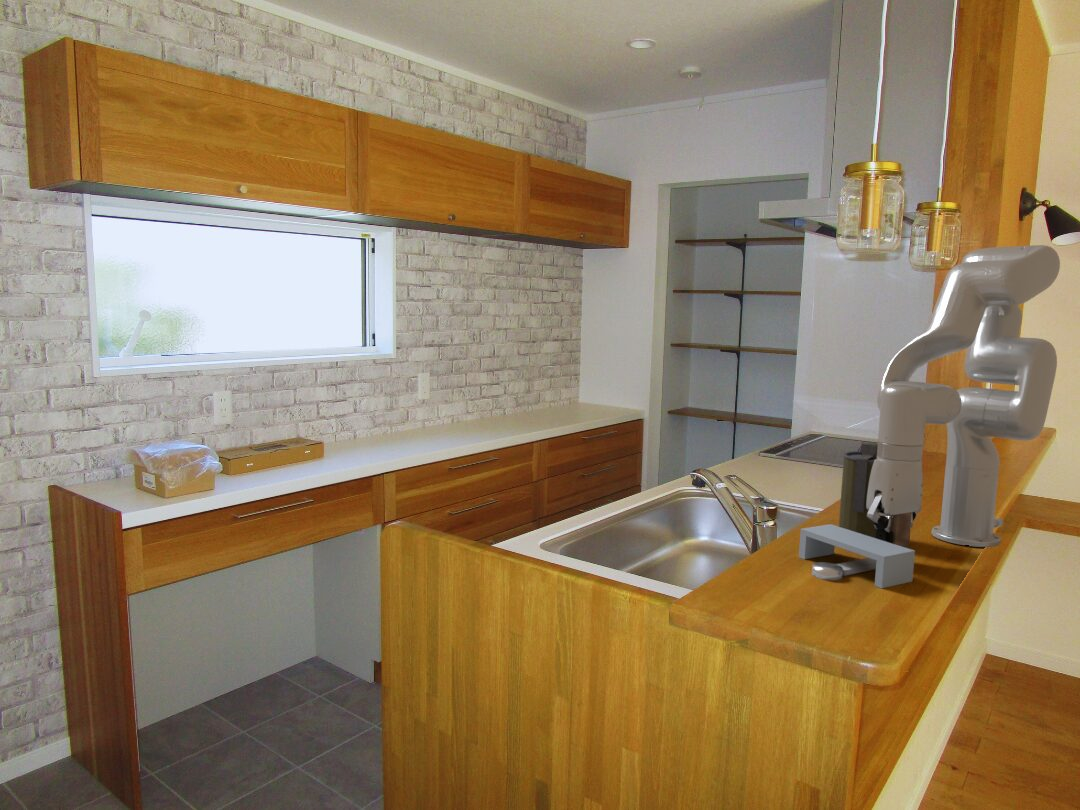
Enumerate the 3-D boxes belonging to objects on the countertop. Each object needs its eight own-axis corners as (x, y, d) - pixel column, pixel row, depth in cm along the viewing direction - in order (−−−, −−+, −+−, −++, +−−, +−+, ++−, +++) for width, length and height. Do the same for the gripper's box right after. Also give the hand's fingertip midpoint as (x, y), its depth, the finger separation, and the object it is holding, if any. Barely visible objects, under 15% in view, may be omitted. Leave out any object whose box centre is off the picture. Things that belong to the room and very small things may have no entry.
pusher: (888, 557, 143) (892, 506, 142) (907, 563, 139) (911, 511, 138) (827, 569, 135) (831, 515, 134) (846, 576, 132) (850, 521, 130)
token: (824, 570, 136) (825, 560, 135) (848, 578, 131) (849, 568, 131) (805, 574, 133) (806, 564, 133) (829, 583, 129) (830, 573, 129)
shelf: (828, 551, 146) (830, 524, 145) (912, 581, 130) (914, 550, 129) (798, 557, 142) (800, 528, 141) (881, 588, 126) (884, 556, 126)
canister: (846, 528, 163) (853, 437, 160) (897, 538, 156) (905, 443, 154) (829, 539, 154) (836, 443, 152) (883, 550, 148) (891, 450, 145)
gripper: (910, 446, 145) (902, 538, 147) (851, 452, 137) (844, 549, 139) (947, 452, 138) (938, 549, 141) (887, 459, 131) (879, 561, 133)
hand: (891, 548), depth 140 cm, fingers closed on pusher, 4 cm apart
